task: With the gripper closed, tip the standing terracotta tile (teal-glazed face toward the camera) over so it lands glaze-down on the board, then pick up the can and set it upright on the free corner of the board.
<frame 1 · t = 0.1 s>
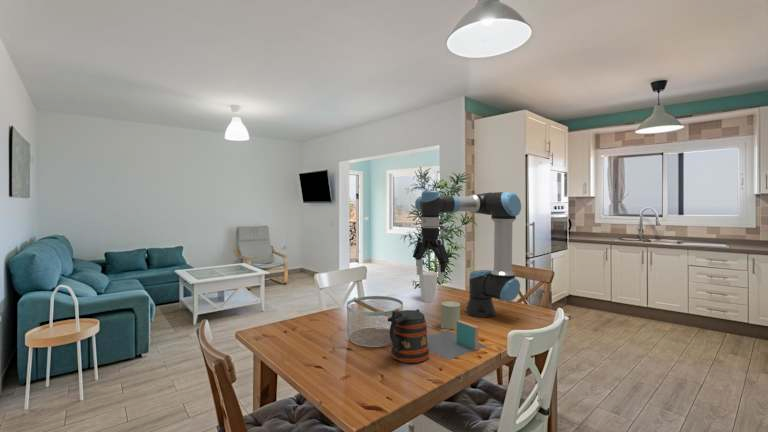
hand: (430, 277, 153), 28 cm above the table, fingers open, 13 cm apart
board: (447, 345, 149), on the table
beer stein: (406, 358, 138), on the table
tile: (467, 345, 147), point 1 cm above the table, touching board
cup: (428, 301, 218), on the table
can: (450, 328, 171), on the table
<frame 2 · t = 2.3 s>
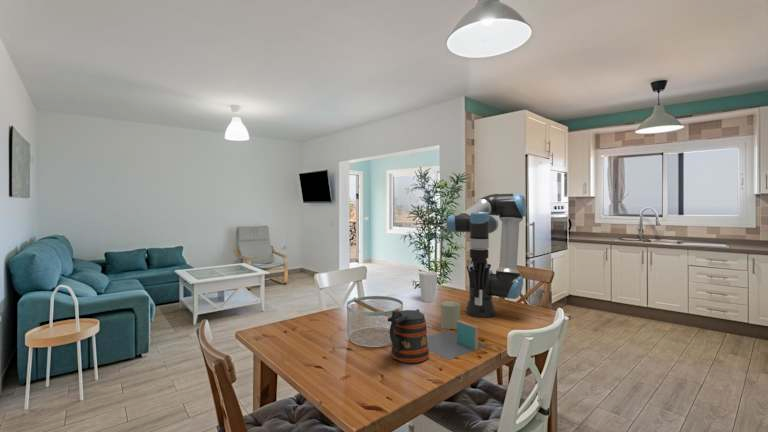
hand: (478, 304, 150), 17 cm above the table, fingers closed
nothing on the table moved.
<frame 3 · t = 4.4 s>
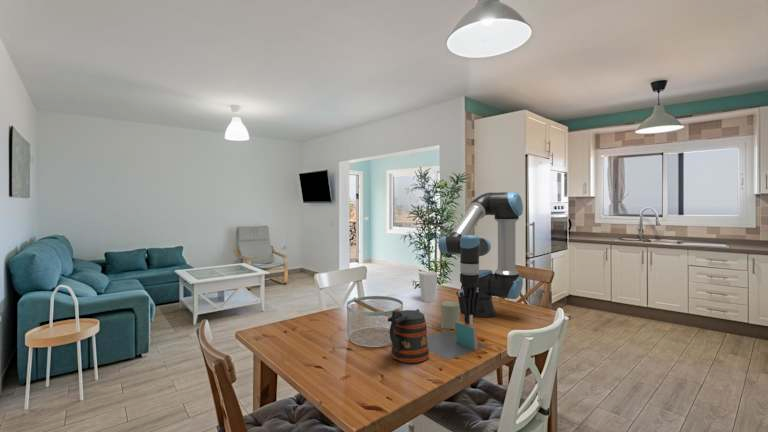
hand: (468, 330, 147), 7 cm above the table, fingers closed
tile: (467, 345, 147), point 1 cm above the table, tilted 7°, touching board, gripper
everything else where it was.
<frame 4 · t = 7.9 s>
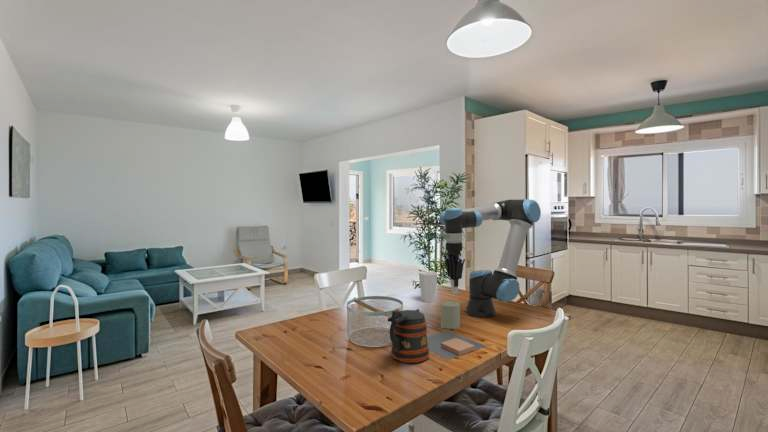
hand: (454, 293, 165), 18 cm above the table, fingers closed
tile: (465, 343, 147), point 2 cm above the table, tilted 90°, touching board
everything else where it was.
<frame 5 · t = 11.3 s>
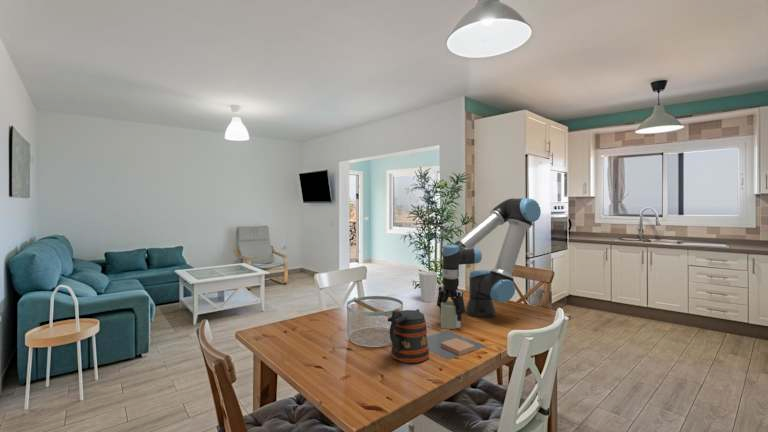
hand: (450, 324, 171), 1 cm above the table, fingers closed on can, 9 cm apart
can: (450, 327, 171), on the table, touching gripper
everything else where it was.
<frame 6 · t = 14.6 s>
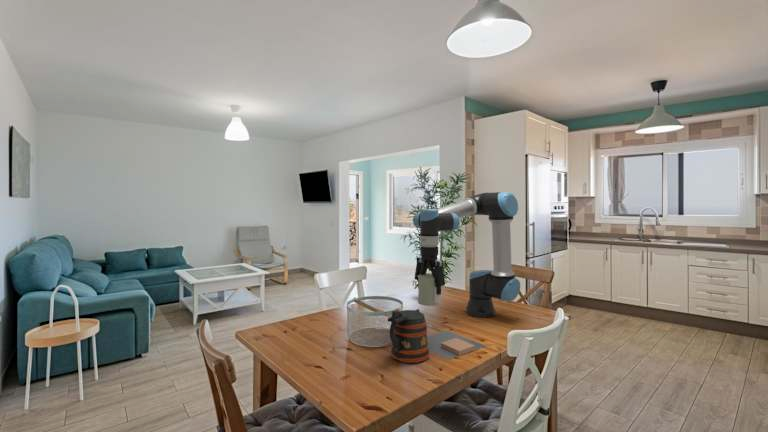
hand: (429, 299, 151), 19 cm above the table, fingers closed on can, 9 cm apart
can: (429, 303, 151), point 17 cm above the table, touching gripper
everything else where it was.
when the fingers open (4 cm above the table, at t = 17.8 s): can drops 1 cm, resting on board.
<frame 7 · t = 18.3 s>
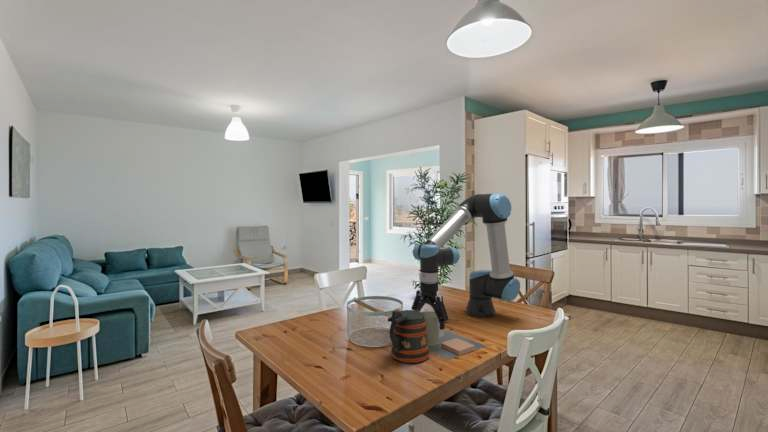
hand: (429, 331, 151), 5 cm above the table, fingers open, 13 cm apart
can: (429, 342, 151), point 1 cm above the table, touching board
everything else where it was.
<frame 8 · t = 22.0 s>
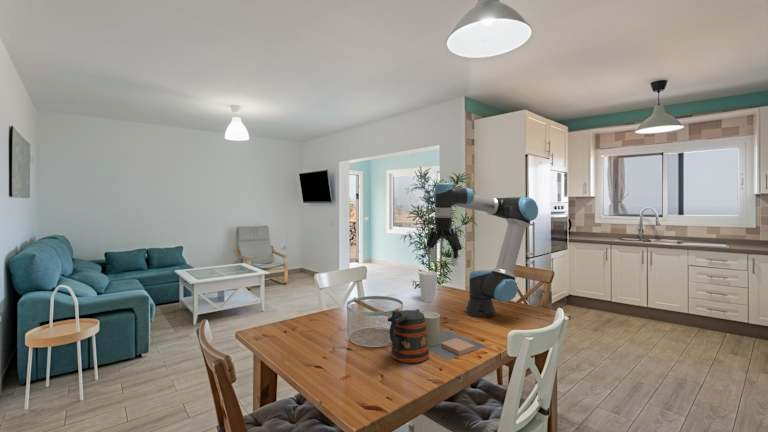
hand: (443, 263, 164), 32 cm above the table, fingers open, 13 cm apart
nothing on the table moved.
at the end: tile tilted 90°; can inside the target area (0.7 cm from its centre), point 0.8 cm above the table; can tilted 0° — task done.
